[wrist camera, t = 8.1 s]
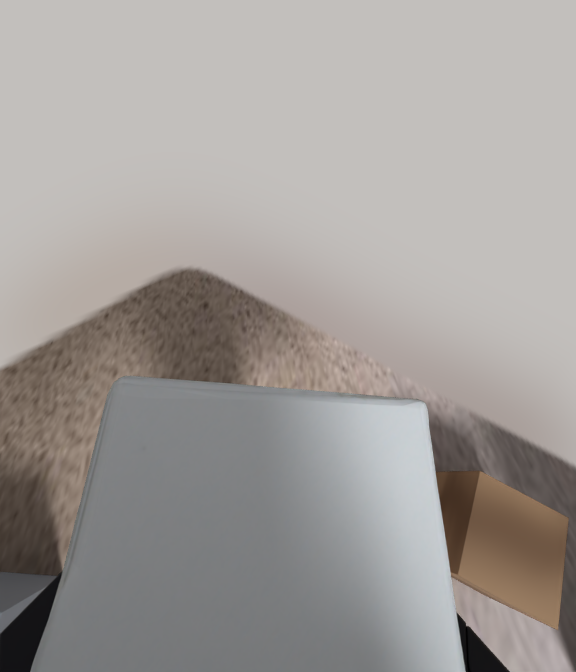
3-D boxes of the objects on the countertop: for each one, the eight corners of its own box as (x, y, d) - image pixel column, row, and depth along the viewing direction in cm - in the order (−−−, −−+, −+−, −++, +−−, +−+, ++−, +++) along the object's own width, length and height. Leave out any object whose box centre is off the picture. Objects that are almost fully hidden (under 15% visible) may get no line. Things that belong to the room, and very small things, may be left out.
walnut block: (482, 594, 20) (557, 630, 15) (406, 552, 20) (457, 574, 15) (498, 509, 22) (568, 518, 17) (429, 471, 22) (480, 470, 17)
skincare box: (289, 618, 13) (596, 1414, 2) (176, 620, 12) (-282, 1740, 1) (292, 452, 15) (439, 391, 4) (197, 448, 15) (92, 367, 4)
